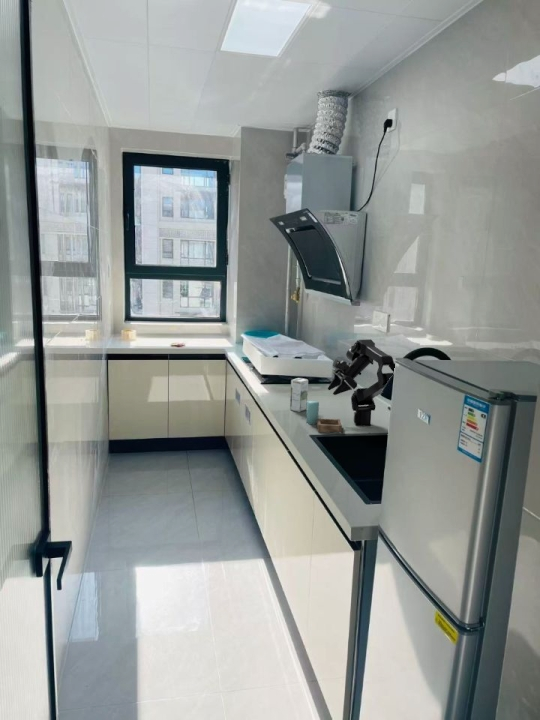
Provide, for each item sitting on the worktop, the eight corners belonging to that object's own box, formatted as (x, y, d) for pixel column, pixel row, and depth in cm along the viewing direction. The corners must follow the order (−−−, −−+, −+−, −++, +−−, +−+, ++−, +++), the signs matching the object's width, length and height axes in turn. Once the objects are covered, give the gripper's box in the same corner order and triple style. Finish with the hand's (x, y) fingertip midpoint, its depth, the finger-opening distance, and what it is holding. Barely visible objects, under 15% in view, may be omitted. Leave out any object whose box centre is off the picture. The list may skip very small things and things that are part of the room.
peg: (317, 421, 239) (318, 401, 238) (318, 424, 235) (319, 403, 233) (306, 420, 240) (306, 400, 238) (306, 424, 235) (307, 403, 233)
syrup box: (297, 407, 261) (298, 377, 259) (307, 409, 258) (308, 379, 255) (289, 409, 257) (290, 379, 255) (300, 412, 253) (301, 381, 251)
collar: (339, 426, 233) (339, 419, 232) (341, 432, 224) (341, 425, 223) (316, 425, 233) (317, 418, 233) (318, 432, 224) (318, 424, 223)
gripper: (339, 349, 243) (313, 374, 243) (351, 356, 225) (323, 383, 225) (355, 367, 245) (330, 391, 246) (368, 375, 227) (341, 402, 228)
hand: (330, 391), depth 236 cm, fingers open, 9 cm apart
